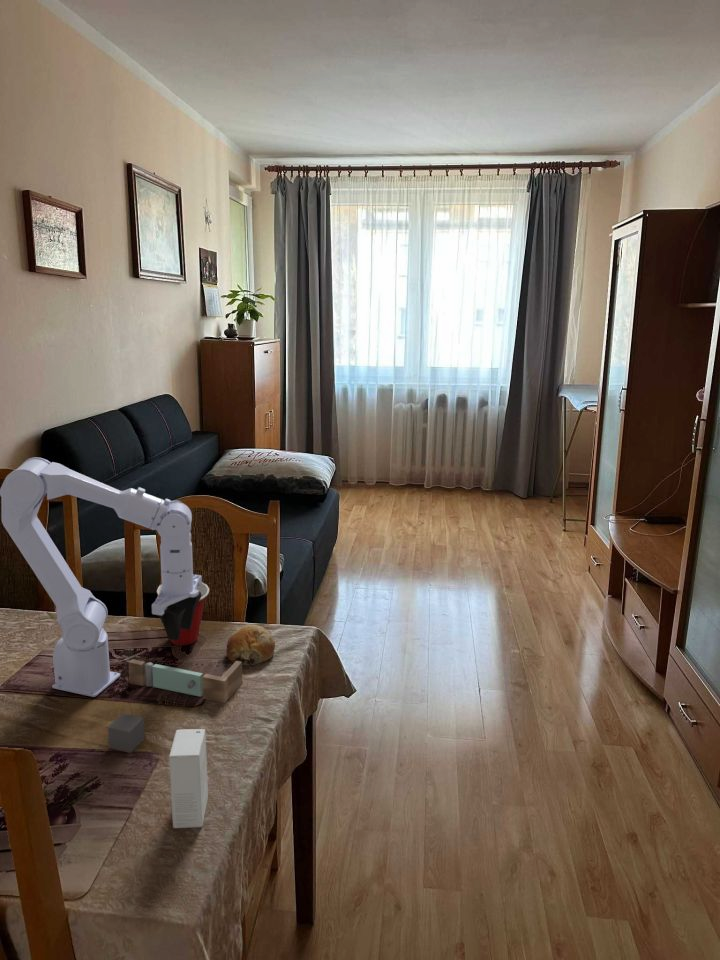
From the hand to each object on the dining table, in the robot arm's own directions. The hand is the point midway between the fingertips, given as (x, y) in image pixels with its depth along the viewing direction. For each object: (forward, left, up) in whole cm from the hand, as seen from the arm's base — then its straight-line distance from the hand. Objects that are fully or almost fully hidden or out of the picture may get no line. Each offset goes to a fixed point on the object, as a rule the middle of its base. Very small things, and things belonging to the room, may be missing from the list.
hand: (179, 633), depth 128 cm
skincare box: (+20, -31, -10) cm, 38 cm away
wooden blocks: (+2, -1, -9) cm, 10 cm away
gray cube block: (+2, -21, -10) cm, 23 cm away
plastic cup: (-7, +13, -10) cm, 18 cm away
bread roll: (+9, +12, -10) cm, 18 cm away
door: (+1, -5, -9) cm, 11 cm away
